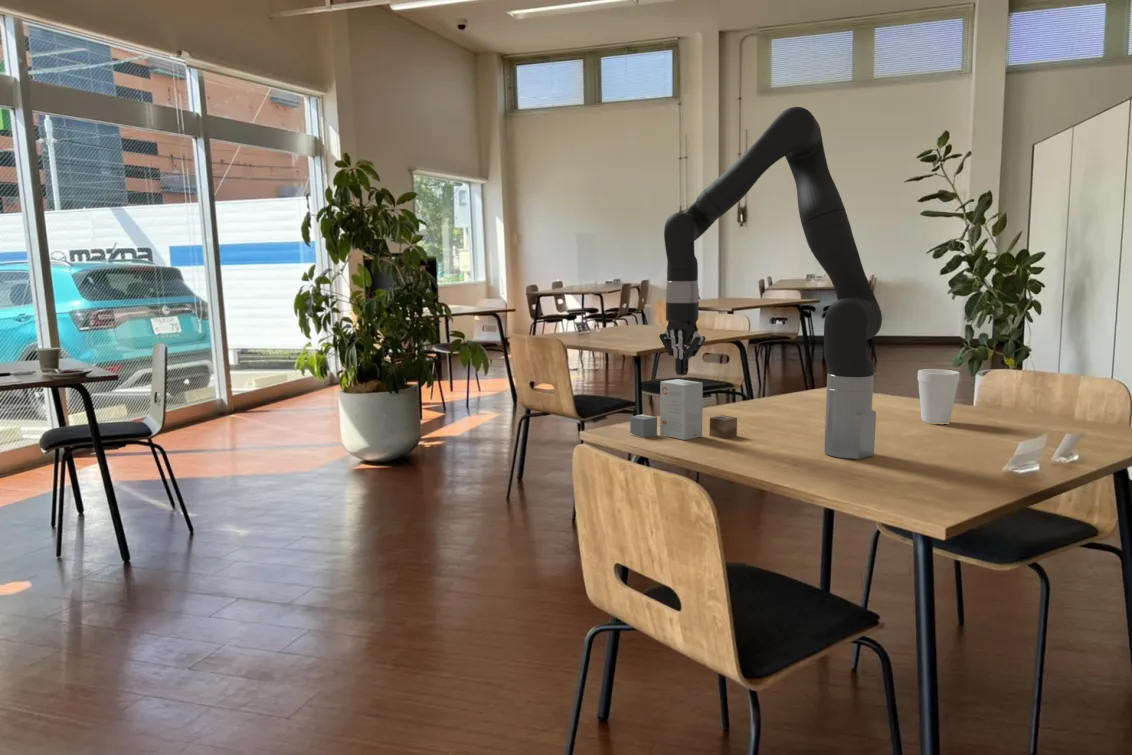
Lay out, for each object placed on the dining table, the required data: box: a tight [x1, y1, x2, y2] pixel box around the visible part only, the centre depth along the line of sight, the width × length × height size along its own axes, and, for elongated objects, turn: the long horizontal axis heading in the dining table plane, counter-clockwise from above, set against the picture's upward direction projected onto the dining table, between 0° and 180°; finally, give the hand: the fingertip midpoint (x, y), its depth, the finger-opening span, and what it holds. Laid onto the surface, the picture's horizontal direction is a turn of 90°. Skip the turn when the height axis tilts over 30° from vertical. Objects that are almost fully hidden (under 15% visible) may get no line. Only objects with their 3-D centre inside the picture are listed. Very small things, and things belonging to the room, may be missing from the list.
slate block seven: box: [629, 414, 658, 439], centre depth 192 cm, size 4×4×5 cm
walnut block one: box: [709, 414, 738, 440], centre depth 191 cm, size 4×4×5 cm
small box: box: [659, 378, 704, 441], centre depth 190 cm, size 8×6×13 cm
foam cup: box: [917, 368, 960, 423], centre depth 203 cm, size 10×9×13 cm
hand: (681, 374), depth 189 cm, fingers closed
